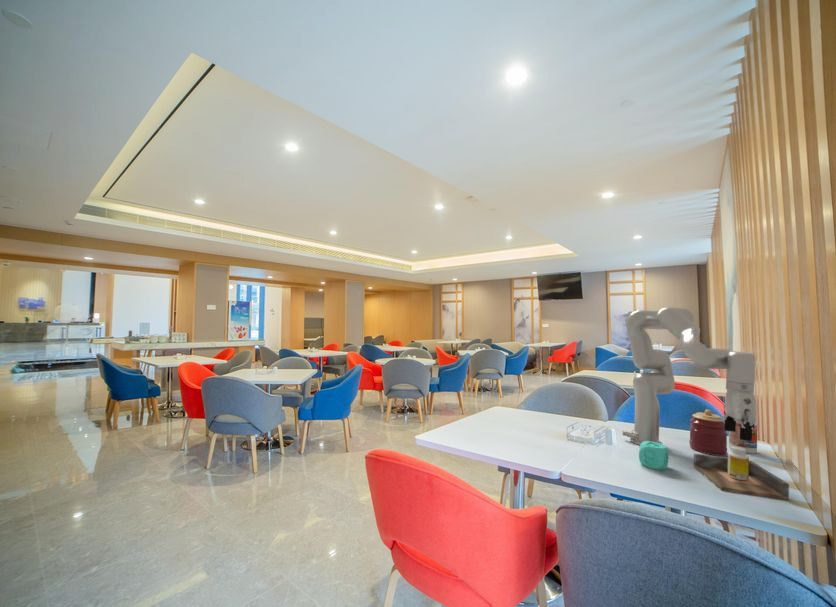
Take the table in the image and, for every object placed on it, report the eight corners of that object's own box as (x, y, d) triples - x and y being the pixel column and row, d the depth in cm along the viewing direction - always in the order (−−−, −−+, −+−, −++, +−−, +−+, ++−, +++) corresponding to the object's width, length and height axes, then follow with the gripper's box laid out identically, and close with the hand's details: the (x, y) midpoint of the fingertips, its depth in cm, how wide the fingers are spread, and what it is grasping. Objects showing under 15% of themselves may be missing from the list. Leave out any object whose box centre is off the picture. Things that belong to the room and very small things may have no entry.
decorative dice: (668, 466, 139) (669, 445, 139) (663, 472, 134) (663, 450, 134) (644, 460, 145) (645, 439, 145) (638, 465, 139) (639, 443, 140)
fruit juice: (735, 445, 168) (736, 384, 169) (761, 452, 160) (762, 388, 161) (724, 447, 165) (725, 384, 166) (749, 455, 156) (750, 389, 157)
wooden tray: (721, 490, 121) (721, 474, 121) (693, 466, 140) (693, 453, 140) (788, 500, 116) (788, 484, 116) (750, 474, 135) (750, 460, 135)
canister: (733, 458, 152) (734, 415, 152) (695, 452, 156) (696, 411, 156) (719, 447, 164) (719, 408, 165) (684, 443, 168) (685, 404, 169)
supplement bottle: (752, 482, 125) (752, 452, 126) (732, 479, 127) (732, 449, 127) (743, 475, 131) (743, 446, 131) (724, 473, 132) (724, 444, 133)
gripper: (768, 393, 120) (766, 445, 120) (738, 383, 137) (736, 429, 137) (741, 390, 122) (738, 442, 122) (714, 381, 139) (712, 426, 139)
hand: (737, 435), depth 130 cm, fingers open, 9 cm apart
